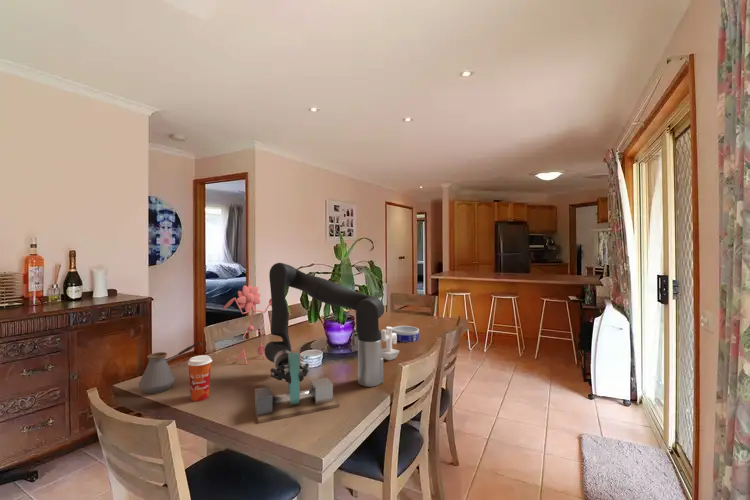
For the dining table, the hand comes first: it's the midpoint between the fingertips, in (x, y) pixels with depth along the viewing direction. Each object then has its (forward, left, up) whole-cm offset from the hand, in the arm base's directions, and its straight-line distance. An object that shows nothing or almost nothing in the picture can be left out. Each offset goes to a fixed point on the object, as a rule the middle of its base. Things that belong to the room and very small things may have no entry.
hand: (295, 379), depth 113 cm
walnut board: (0, -3, -11) cm, 11 cm away
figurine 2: (-51, -34, -11) cm, 63 cm away
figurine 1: (+10, -61, -11) cm, 63 cm away
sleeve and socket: (0, -3, -9) cm, 10 cm away
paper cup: (+29, -24, -11) cm, 39 cm away
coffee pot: (+39, -40, -11) cm, 56 cm away
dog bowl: (-75, -60, -11) cm, 97 cm away
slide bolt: (-2, -3, -8) cm, 9 cm away
